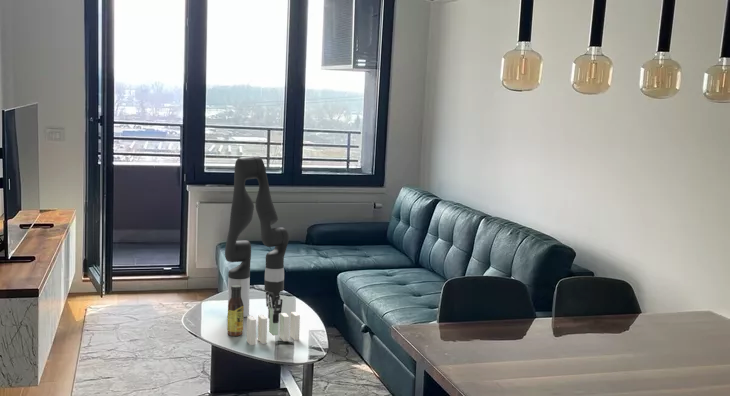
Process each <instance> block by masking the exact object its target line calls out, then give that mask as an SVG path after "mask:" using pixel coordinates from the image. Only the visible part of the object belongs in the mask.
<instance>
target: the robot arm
mask: <svg viewBox="0 0 730 396" xmlns="http://www.w3.org/2000/svg"><path fill="white" fill-rule="evenodd" d="M265 166H266V165H265V163H264V160H263V157H261V156H259V155H251V156H242V157H241V156H240V157H238V158H236V161H235V164H234V173H233V174H234V178H233V180H234V181H233V182H234V183H233V193H232V202H231V206H230V207H231V208H230V218H229V228H228V233H227V238H226V243H225V248H224V257H225V260H226V261H227V262H229V263H239V264H238V265H237V266H235V267H233V268H231V269H229V270H228V274H227V275H228V277H227V278H228V279H227V282H228V283H227V284H228V285H227V286H228V287H227V289H228V290H227V291H228V292H227V304H228V303H229V300H230V299H231V293H232V290H231V286H232V285H240V286H241V299H242V302H243V305H244V312H243V318H247V316H250V288H251V287H250V284H251V283H250V279H251V278H250V277H251V262H252V261H251V260H252V259H251V258H252V245H251V242H250V240H243V239H242V240H238V239H239V236H240V235H241V234H242V233H243V232H244V230H245V229H247V227H248V226H249V225H250V224H251V223H252V220H253V216H254V210H255V209H256V214H257V216H258V219H259V222H260V223H259V224H260V237H261V242H262V243H263V245H264V246H265V247H267V248H273V247H274V249H273V250H271V251H268V252H267V253H266V255H265V270H264V286H263V287H264V288H263V289H264V291H265V303H266V304H265V305H266V307H267V309H268V312H267V313H268V314H267V315H268V316H267V317H268V318H267V319H269V308H270V307H271V308H272V309H273V323H278V324H279V323H280V313H282V308H283V301H284V300H283V299H281V295H280V293H281V292H283V291H284V289H285V269H284V268H285V267H284V265H285V263H284V262H285V261H284V260H285V259H284V258H285V255H286V251H287V247H288V244H289V239H290V236H289V232H288V230H287V229H286V228H284V227H273V228H272V226H273V225H274V224H276V223H277V222H278V220H279V219H278V214H277V212H276V208H275V205H274V203H273V200H272V196H271V190H270V185H269V180H268V175H267V170H266V167H265ZM255 179H256V180H257V182H258V191H257V195H256V198H255V205H254V201H253V200H252V198H251V196H250V195H249V193H248V192H247V190H246V189H247V188H246V181H247V180H255ZM254 208H255V209H254Z"/></svg>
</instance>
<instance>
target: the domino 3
mask: <svg viewBox="0 0 730 396" xmlns="http://www.w3.org/2000/svg"><path fill="white" fill-rule="evenodd" d="M268 310H269V318H268V325H269V326H268V332H269V334H270V335H272V336H278V335H279V322H278V323H273V309H272V308H271V307H270V308H269V309H268Z"/></svg>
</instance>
